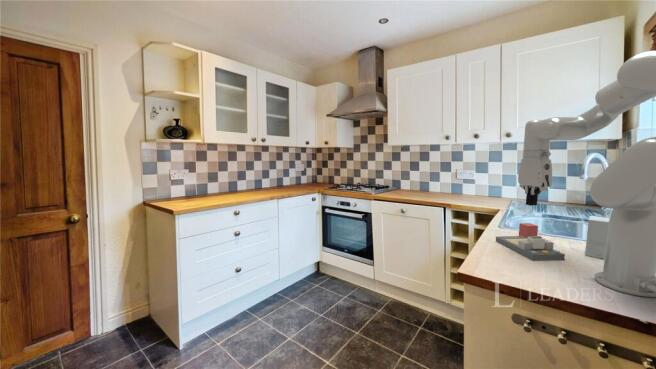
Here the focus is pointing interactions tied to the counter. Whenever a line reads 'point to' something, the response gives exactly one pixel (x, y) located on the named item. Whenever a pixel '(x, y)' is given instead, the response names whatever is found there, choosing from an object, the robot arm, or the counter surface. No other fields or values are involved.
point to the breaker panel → (527, 252)
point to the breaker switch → (536, 242)
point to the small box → (597, 236)
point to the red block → (528, 230)
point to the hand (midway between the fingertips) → (531, 204)
